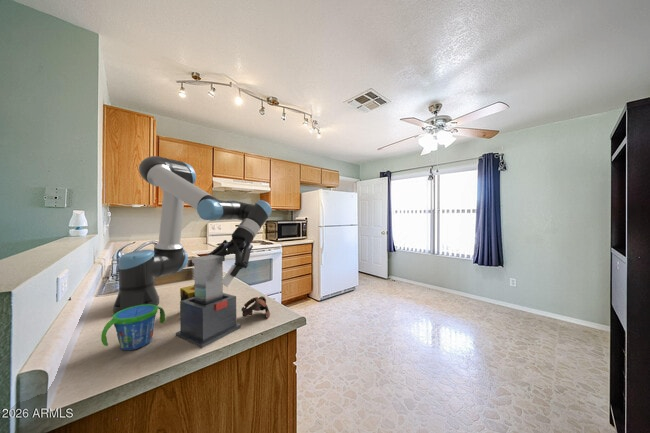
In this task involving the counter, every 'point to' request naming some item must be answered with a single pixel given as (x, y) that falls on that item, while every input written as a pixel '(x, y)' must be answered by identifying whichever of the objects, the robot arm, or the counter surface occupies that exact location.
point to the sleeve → (207, 320)
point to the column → (208, 279)
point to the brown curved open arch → (255, 306)
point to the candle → (187, 292)
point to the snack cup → (134, 326)
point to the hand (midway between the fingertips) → (210, 281)
